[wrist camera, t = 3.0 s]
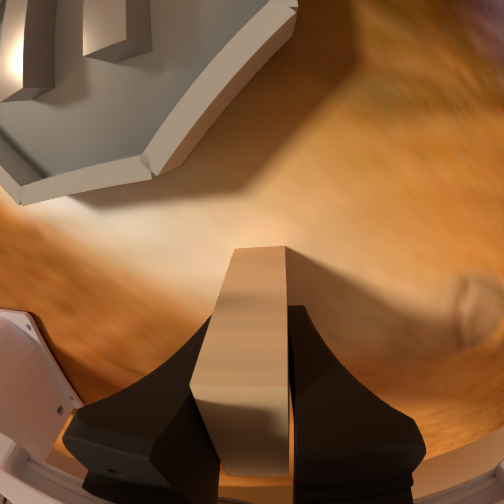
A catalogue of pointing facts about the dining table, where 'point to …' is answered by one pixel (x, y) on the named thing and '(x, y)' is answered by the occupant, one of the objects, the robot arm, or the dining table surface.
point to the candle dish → (121, 85)
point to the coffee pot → (230, 501)
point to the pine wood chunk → (248, 366)
